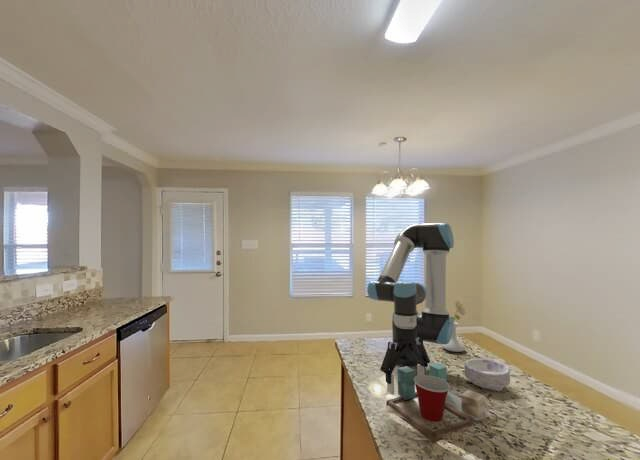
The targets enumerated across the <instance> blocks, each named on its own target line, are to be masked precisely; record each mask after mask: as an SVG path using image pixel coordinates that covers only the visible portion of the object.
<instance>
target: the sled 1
mask: <svg viewBox="0 0 640 460" xmlns="http://www.w3.org/2000/svg"><path fill="white" fill-rule="evenodd" d="M415 371H416V370H415V369H413V368H411V367H410V366H405V365H404V366H402V367H398V368H397V395H398V396H397V397H395V398H390V399H387V400H386V402H385V404H386V407H387V406H389V407H391V409H393V410H395V411H396V412H398V414H400V415H401V416H400V415H398V417H399V418H400V419H402V420H403V421H404V422H406V423H407V424H408V425H410V426H411V427H412V428H414V429H415V430H416V431H418V432H419V433H420V434H421V435H422V436H423V437H424V438H426V439H428V440H429V441H430V442H432V444H435V443H437V442H439V441H440V442H441V441H442V440H444V438H443V437H442V436H445V435H448V434H449V433H452V432H454V431H457V430H460V429H461V428H464V427H468V426H470V425H472V424H474V423H475V422H474V420H475V419H473V418H471V417H470V416H468V415H466V414H465V415H464V413H463V412H461V411H460V412H459V410H458V409H456V408H455V409H454V407H453V406H451V405H449V404H447V403H446V402H445V407H444V409H446V410H447V411H448V412H451V414H454V415H456V416H457V417H459V418H460V419H462V420H461V421H459V422H456V423H453V424H450V425H448V426H445V427H442V428H440V429H438V430H435V431H433V430H431V429H430V428H428V427H427V426H426V425H424V424H423V423H422V422H420V421H419V420H418V419H416V418H415V417H414V416H412V415H411V414H410V413H408V412H407V411H405V410H404V409H403V408H402V407H400V406H398V405H397V404H396V403H400V402H403V401H407V400H411V399H413V398H418V395H417V391H416V385H415V382H414V377H415V376H416V375H415V374H416V373H415ZM469 417H470V418H469Z"/></svg>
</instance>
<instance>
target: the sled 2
mask: <svg viewBox="0 0 640 460" xmlns="http://www.w3.org/2000/svg"><path fill="white" fill-rule="evenodd" d="M428 366H429V376H434V377H438V378H440V379H442V380H444V381H446V382H447V366H445V365H442V364H440V363H439V362H437V363H433V364H430V365H429V364H428ZM447 383H448V382H447ZM445 403H446V404H448V405H449V406H451V407H453V408H455V409H456V410H458V411H460V412H461V413H463V414H465V415H466V416H468V417H470V418H471V419H473V420H475V421H476V422H478V421H480V420H484V419H486V418H489V417H491V416H492V414H491V413H489V412H487V411H486V410H485V412H484V413H483V414H482V415H481V416H480V417H475V416H473V415H471V414H468V413H466V412H463V411H462V402H461V397H460V396H458V395H456V394H455V393H453V392H451V391H450V390H449V391H448V393H447V396H446V401H445Z"/></svg>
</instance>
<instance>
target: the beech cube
mask: <svg viewBox="0 0 640 460" xmlns="http://www.w3.org/2000/svg"><path fill="white" fill-rule="evenodd" d="M460 396H461V397H460V398H461V402H462V411H463V412H466V413H468V414H471V415H473V416H475V417H480V416H481V415H482V414H483V413H484V412H485V411H486V409H485V395H483V394H481V393H478V392H475V391H473V390H470V389H468V390H467V389H466V390H465V392H463V393H462V394H461V395H460ZM463 412H462V413H463Z"/></svg>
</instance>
